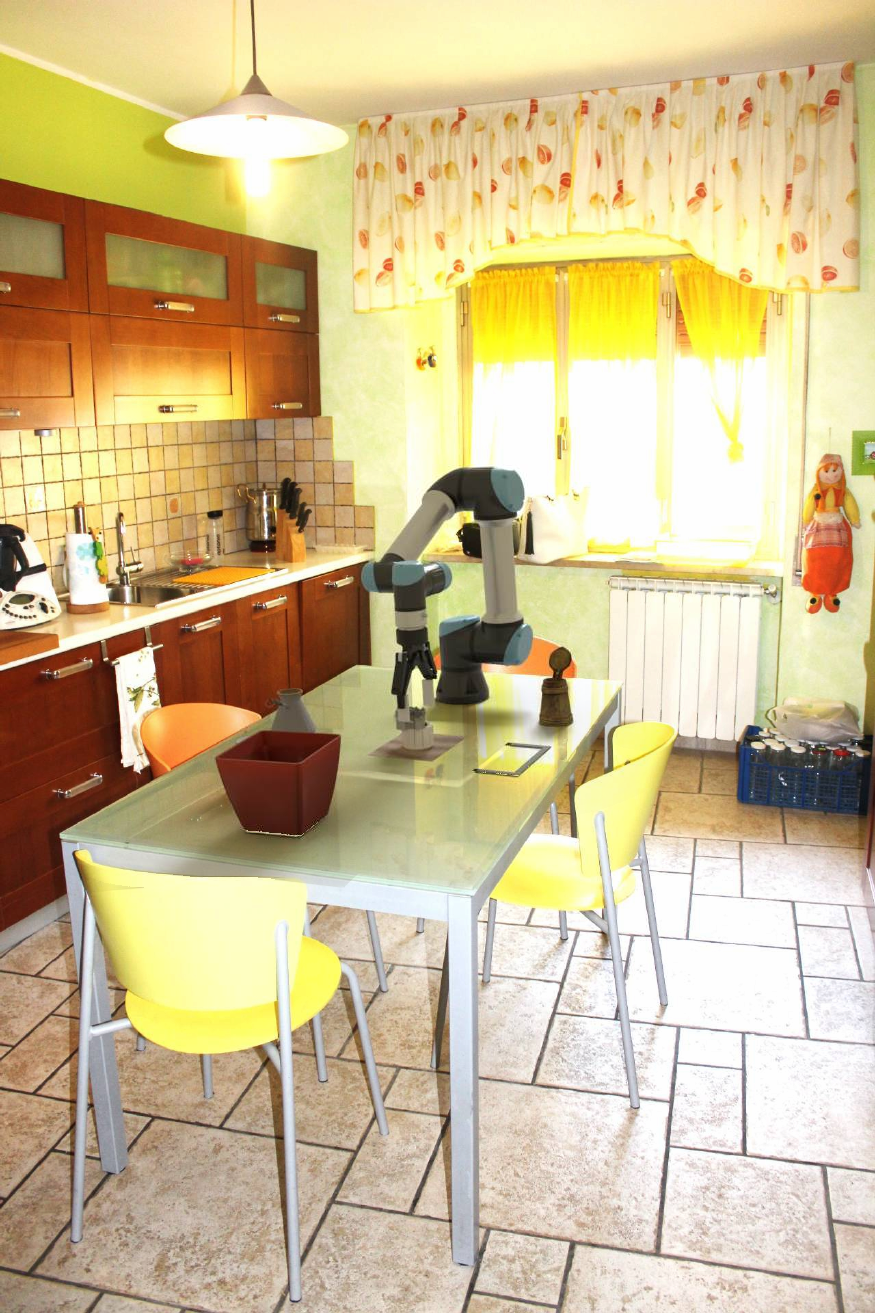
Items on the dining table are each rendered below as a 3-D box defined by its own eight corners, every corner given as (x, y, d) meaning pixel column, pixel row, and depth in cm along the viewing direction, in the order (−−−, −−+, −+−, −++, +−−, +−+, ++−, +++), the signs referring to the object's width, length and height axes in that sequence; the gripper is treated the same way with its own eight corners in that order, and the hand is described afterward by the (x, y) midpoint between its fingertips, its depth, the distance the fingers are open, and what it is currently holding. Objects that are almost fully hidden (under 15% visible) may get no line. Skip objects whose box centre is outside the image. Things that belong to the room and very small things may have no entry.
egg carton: (424, 731, 261) (423, 714, 260) (393, 731, 262) (392, 715, 261) (428, 718, 272) (427, 702, 271) (397, 718, 272) (396, 702, 271)
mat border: (478, 740, 273) (478, 739, 273) (551, 747, 265) (551, 746, 265) (440, 768, 254) (440, 767, 253) (518, 776, 245) (518, 775, 245)
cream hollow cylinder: (411, 739, 272) (410, 719, 271) (438, 742, 269) (437, 721, 268) (397, 748, 266) (396, 728, 265) (425, 751, 263) (424, 730, 262)
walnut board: (405, 735, 280) (405, 731, 280) (467, 741, 273) (466, 736, 273) (368, 759, 263) (367, 754, 262) (432, 766, 255) (432, 761, 255)
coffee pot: (279, 733, 288) (275, 677, 285) (322, 733, 286) (317, 677, 283) (251, 759, 268) (245, 699, 264) (296, 759, 265) (291, 699, 262)
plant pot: (220, 838, 219) (212, 756, 215) (267, 804, 236) (261, 728, 232) (306, 847, 212) (299, 763, 208) (348, 812, 229) (343, 734, 226)
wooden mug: (581, 712, 293) (579, 646, 289) (568, 727, 280) (567, 658, 276) (548, 711, 296) (546, 645, 292) (534, 725, 283) (532, 657, 279)
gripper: (401, 639, 249) (407, 729, 253) (447, 616, 270) (452, 700, 275) (372, 637, 252) (378, 726, 257) (420, 615, 274) (425, 698, 278)
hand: (416, 713), depth 266 cm, fingers open, 13 cm apart
